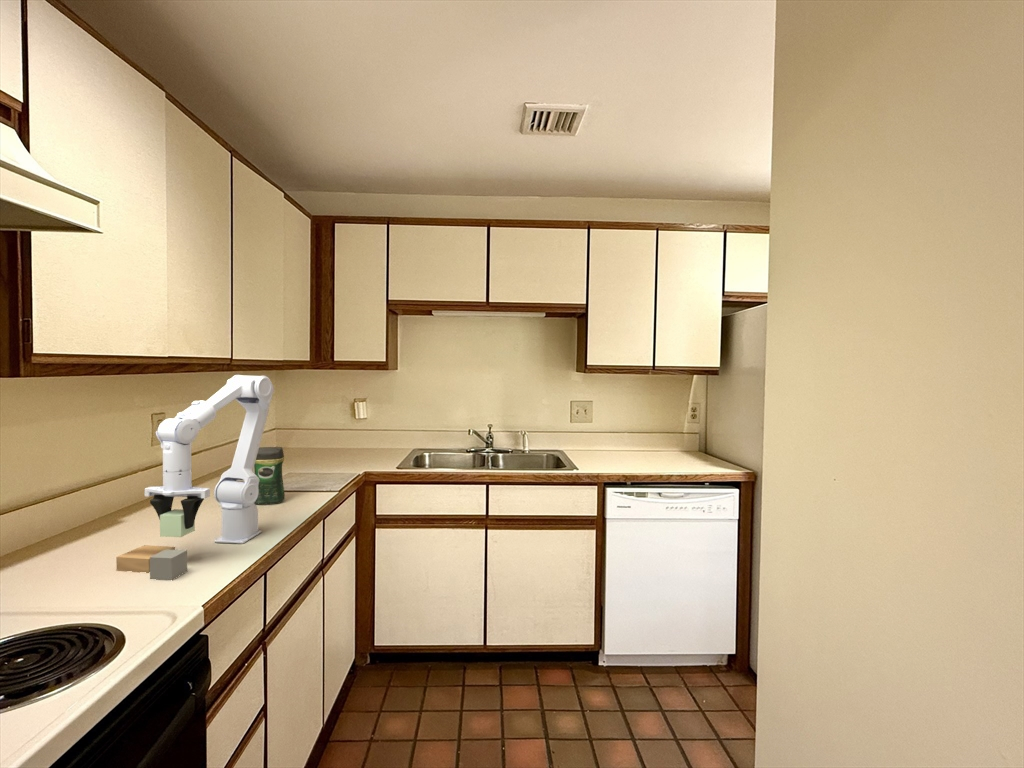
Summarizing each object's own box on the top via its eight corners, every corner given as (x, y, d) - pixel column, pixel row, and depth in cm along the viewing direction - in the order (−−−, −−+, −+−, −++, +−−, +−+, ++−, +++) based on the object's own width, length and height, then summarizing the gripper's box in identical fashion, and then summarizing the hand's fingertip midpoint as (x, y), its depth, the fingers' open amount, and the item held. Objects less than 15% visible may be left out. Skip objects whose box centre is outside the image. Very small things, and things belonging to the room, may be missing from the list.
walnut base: (144, 559, 132) (144, 545, 131) (175, 561, 131) (174, 547, 130) (116, 572, 124) (116, 556, 124) (148, 574, 123) (148, 559, 123)
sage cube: (174, 529, 131) (174, 509, 131) (194, 530, 131) (194, 509, 131) (160, 536, 126) (159, 515, 126) (181, 537, 126) (180, 515, 126)
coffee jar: (286, 498, 188) (286, 445, 187) (281, 504, 180) (281, 448, 179) (256, 499, 186) (256, 445, 185) (250, 505, 178) (249, 449, 177)
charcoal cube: (165, 571, 124) (165, 549, 124) (187, 571, 124) (186, 550, 124) (150, 579, 119) (149, 557, 119) (172, 580, 119) (171, 558, 119)
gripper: (134, 472, 124) (135, 531, 125) (196, 474, 124) (196, 533, 124) (156, 466, 131) (156, 522, 132) (215, 468, 131) (215, 524, 131)
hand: (177, 527), depth 129 cm, fingers closed on sage cube, 5 cm apart
